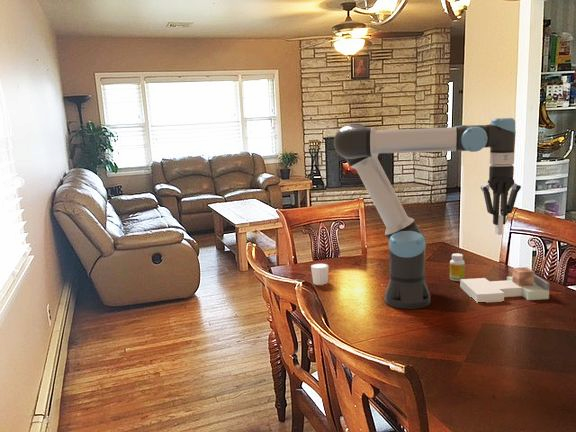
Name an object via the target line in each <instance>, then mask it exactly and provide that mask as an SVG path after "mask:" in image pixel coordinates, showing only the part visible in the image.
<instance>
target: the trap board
mask: <svg viewBox="0 0 576 432" xmlns="http://www.w3.org/2000/svg"><path fill="white" fill-rule="evenodd" d="M512 279H513V275H511V276H506V280H492V281H491V280H488V279H487V278H486V277H481V278H480V277H479V278H478V277H477V278H465V279H460V281H459V283H460V284H459V288H460V289H461V290H463V292H464V293H465V294H466V295H468V296H469V297H470V298H471V297H472V298H473V299H474V300H475V301H476V302H475V301H474V300H473V299H472V298H471V299H472V300H473V301H474V302H475V303H477V304H479V303H478V302H486V303H498V302H499V303H501V302H502V301H504V302H505V298H508V297H509V298H511V297H512V298H513V297H523V298H524V299H526V300H527V301H534V300H535V301H536V300H538V301H539V300H549V299H550V282H548V281H547V280H545V279H543V278H542V277H540V276H539V275H537V274H536V273H534V285H533V286H518V285H516V284H515V283H514V282H512Z"/></svg>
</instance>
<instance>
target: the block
mask: <svg viewBox="0 0 576 432" xmlns="http://www.w3.org/2000/svg"><path fill="white" fill-rule="evenodd" d="M534 274H535V271H534V270H533V269H531V268H529V267H512V276H513V279H512V282H514V283H515V284H516V285H518V286H533V285H534Z"/></svg>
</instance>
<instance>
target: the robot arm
mask: <svg viewBox="0 0 576 432" xmlns="http://www.w3.org/2000/svg"><path fill="white" fill-rule="evenodd" d="M490 121H491V122H490V124H482V125H480V124H478V125H477V124H476V125H475V124H474V125H472V124H471V125H468V124H467V125H464V124H463V125H455V126H454V127H452V126H451V127H430V128H428V127H426V128H404V129H403V128H400V129H379V130H378V129H375V128H374V127H367V126H365V125H363V124H361V123H352V124H348V125H345V126H342V127H341V128H339V130H337V131H336V134H335V136H334V138H333V146H334V149H335V152H336V153H337V154H338V155H339V156H340V157H341V158H344V159H345V160H346V162H347V164H348V167H349V168H352V169H354V170H356V172H357V173H358V176H359V178H360V180H361V182H362V184H363V186H364V187H365V189H366V191H367V194H368V196H369V197H370V199H371V201H372V203H373V204H374V206H375V209H376V210H377V212H378V215H379V216H380V218H381V220H382V222H383V224H384V226H385V228H386V229H385V232H384V235H385V236H386V238H387V242H388V249H389V251H388V253H389V280H388V284H387V287H386V290H385V294H384V302H385V304H387V305H389V306H390V307H392V308H397V309H401V310H417V309H422V308H426V307H428V306H429V305H430V304H431V293H430V291H429V289H428V285H427V282H426V248H427V239H426V236H425V234H424V232H423V231H422V230H421V229H420V228H419V226H418V225H417V222H416V220H415V219H414V218H413V217H410V216H408V214H407V213H406V210H405V208H404V207H403V204H402V203H401V201H400V199H399V197H398V195H397V194H396V193H397V192H396V190H395V189H394V187H393V186H392V184H391V182H390V179H389V178H388V176H387V174H386V171H385V170H384V168H383V166H382V165H381V162H380V160H379V158H378V156H379V154H401V153H403V154H405V153H407V154H409V153H434V152H435V153H436V152H437V153H438V152H442V153H443V152H471V153H473V152H474V153H475V152H479V151H482V150H483V149H484V148H489V164H490V166H489V171H488V173H489V174H488V177H489V178H488V180H487V183H486V184H484V185H481V186H480V189H481V191H482V192H483V196H484V200H485V205H486V211H487V213H488V214H490V215H492V224H493V225H495V226H494V234H496V235H498V236H500V235H501V236H502V235H503V231H504V230H503V229H504V225H506V223H507V222H506V221H507V216H508V215H509V214H512V213H513V210H514V207H515V202H516V200H517V196H518V193H519V191H520V190H521V188H522V185H519V184H517V183H515V179H514V172H515V171H514V170H515V167H514V164H515V147H516V133H517V132H516V131H517V130H516V119H515V118H512V117H501V118H493V119H491V120H490ZM490 190H491V191H492V195H493V198H492V197H491V192H490ZM509 191H510V192H509ZM508 196H509V198H508Z"/></svg>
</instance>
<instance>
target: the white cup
mask: <svg viewBox="0 0 576 432" xmlns="http://www.w3.org/2000/svg"><path fill="white" fill-rule="evenodd" d="M310 269H311V277H312V283H313V285H316V286H323V285H324V284H325V285H327V284H328V281H329V280H328V279H329V264H327V263H314V264H311V265H310Z"/></svg>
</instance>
